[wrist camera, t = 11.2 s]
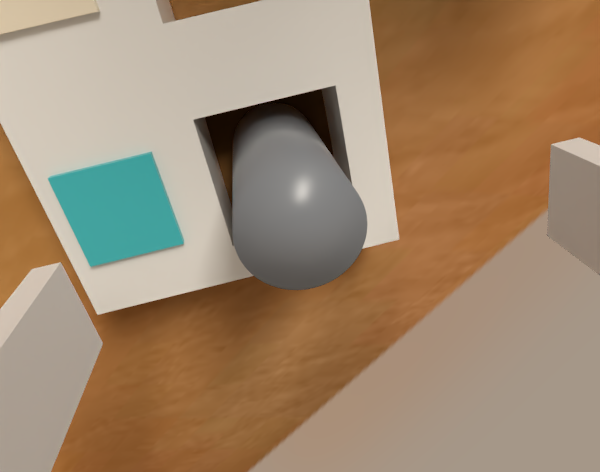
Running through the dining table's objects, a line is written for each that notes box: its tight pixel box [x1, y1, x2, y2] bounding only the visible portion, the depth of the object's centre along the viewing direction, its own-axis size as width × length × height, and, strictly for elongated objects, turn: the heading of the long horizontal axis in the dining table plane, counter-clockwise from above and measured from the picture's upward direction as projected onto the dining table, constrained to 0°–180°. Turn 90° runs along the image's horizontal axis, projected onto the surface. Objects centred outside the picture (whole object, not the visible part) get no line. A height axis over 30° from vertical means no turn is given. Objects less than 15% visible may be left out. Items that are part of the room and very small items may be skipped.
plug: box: [232, 103, 367, 290], centre depth 18 cm, size 4×4×10 cm
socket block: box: [0, 0, 399, 315], centre depth 19 cm, size 14×18×4 cm
